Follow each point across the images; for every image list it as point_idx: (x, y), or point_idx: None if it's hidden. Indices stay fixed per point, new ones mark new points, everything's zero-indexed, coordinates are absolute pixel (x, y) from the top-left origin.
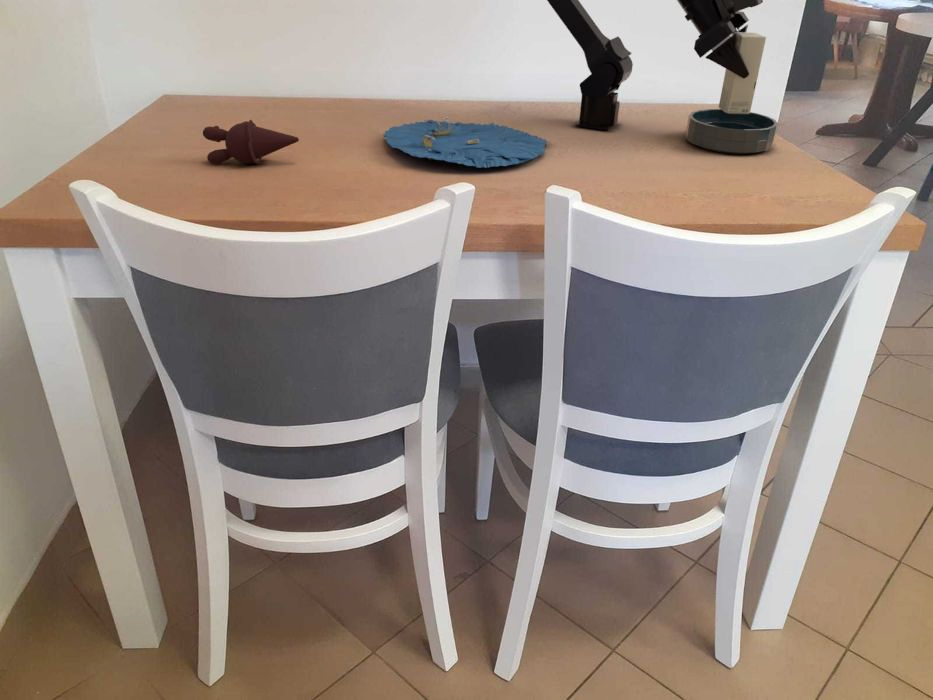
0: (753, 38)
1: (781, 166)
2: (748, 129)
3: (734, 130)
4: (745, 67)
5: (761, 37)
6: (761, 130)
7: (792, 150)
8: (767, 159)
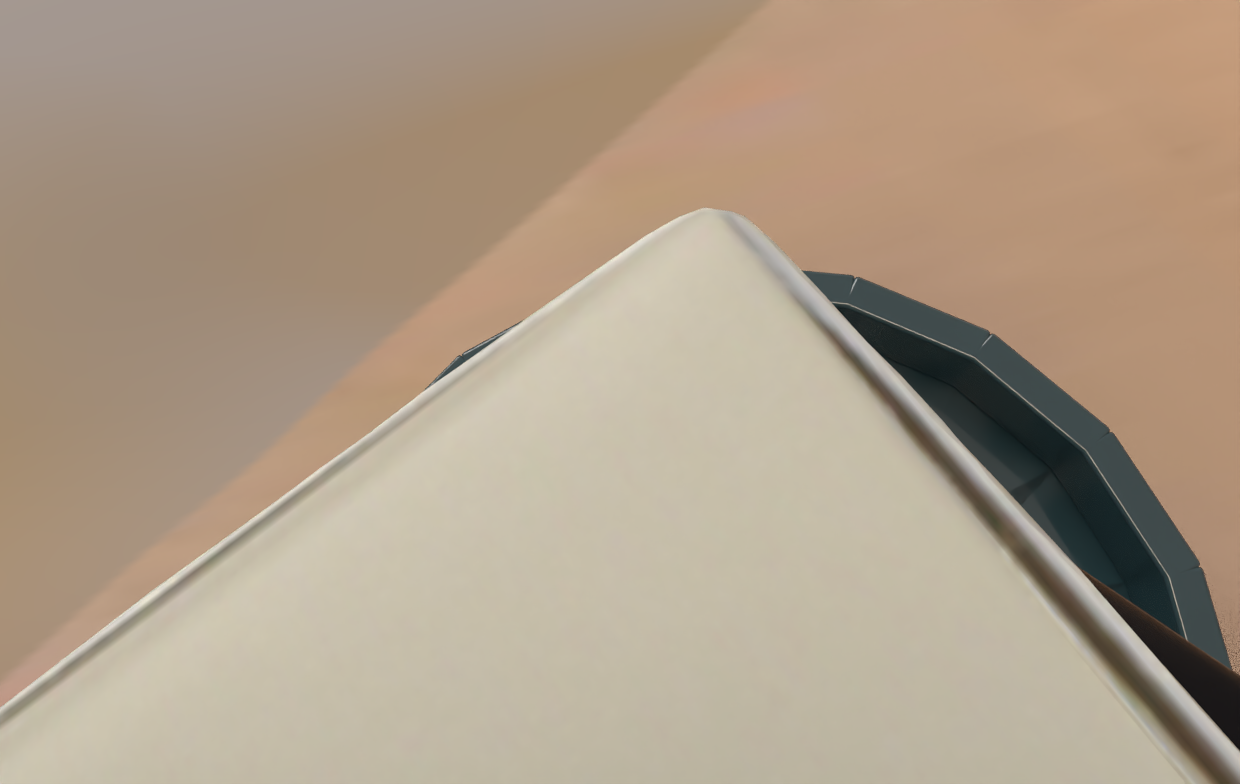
0: (1187, 711)
1: (1077, 136)
2: (1066, 431)
3: (1188, 547)
4: (1188, 647)
5: (887, 375)
6: (970, 325)
7: (561, 215)
8: (963, 278)
